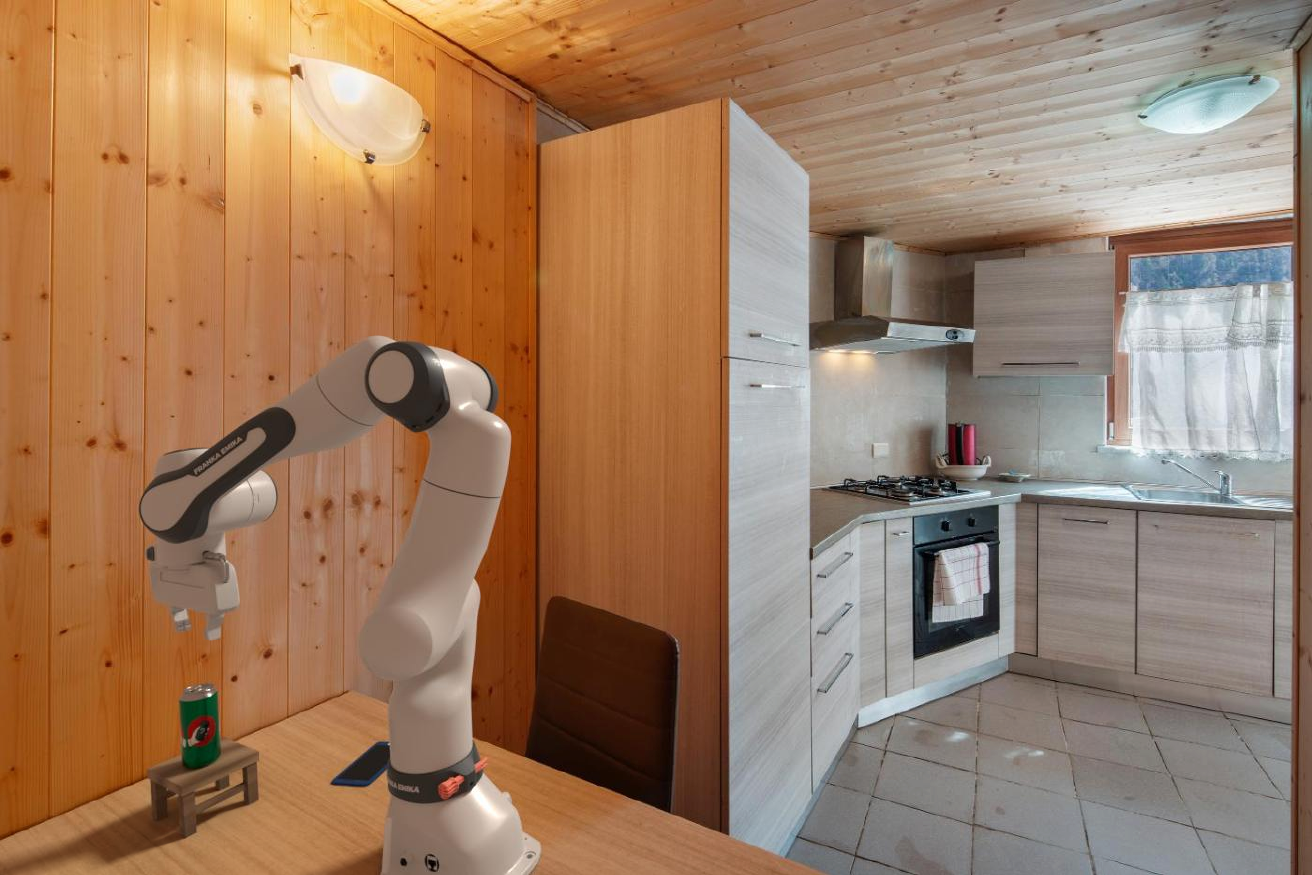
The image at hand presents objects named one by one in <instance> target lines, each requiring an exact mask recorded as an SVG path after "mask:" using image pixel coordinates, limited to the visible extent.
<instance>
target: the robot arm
mask: <svg viewBox="0 0 1312 875" xmlns="http://www.w3.org/2000/svg"><path fill="white" fill-rule="evenodd" d="M499 394H500V392H499V386H498V384H497V382H496V379H495V378H494V376H493V374H491V372H490V371H489V370H487V368H485V366H483V365H481V364H479V362H476V361H474V360H469V359H467V358H464V357H462V356H460V355H458V354H457V353H456V352H453V351H451V350H447V349H444V348H440V347H438V346H433V345H426V344H425V343H423V342H418V341H409V340H404V341H403V340H402V341H396V340H395V339H392V338H390V337H388V336H385V335H384V336H383V335H372V336H367V337H366V338H363V339H361V340H360V341H358V342H356V343H354V344H352V345H351V346H350V347H348V348H347V349H345V350H344V351H342V352H341V353H339V354H338V355H336V356H335V357H334V358H332V359H331V360H329V362H327V363H326V364H325V365H324V366H322V368H320V369H319V370H318V371H317V372H315V373H314V375H313V376H311V377H310V378H309V379H307V381H305V382H304V383H302V384H301V385H300V386H298V388H296V389H295V390H293V391H292V392H290V393H289V394H288V395H286V396H285V397H284V398H282V399H280V400H279V401H278V402H276V403H274V404H272V405H271V406H270V407H268V408H267V409H265V410H262V411H261V412H259V413H258V414H256V415H255V416H253V417H251V418H250V419H248V420H246V421H245V422H243V423H242V424H241V425H239V426H238V427H236V428H235V429H234V430H231V432H229V433H228V434H226V436H224V437H223V438H222V439H220V440H219V441H218V442H216V443H215V444H213V445H212V446H210V447H190V448H189V447H188V448H185V449H177V450H172V451H169V452H167V453H163V455H161V456H160V457H159V458H158V459H157V462H156V464H155V468H154V473H153V474H154V475H153V479H152V480H151V481H150V482H149V484H148V485H147V486H146V488H145V489H144V491H143V493H142V494H141V497H140V501H139V504H138V515H139V517H140V520H141V521H142V524H143V525H144V527H145V528H146V529H147V530H148V531H149V532H150V533H151V534H153V535H154V536H155V541H154V543H152V544H151V545H148V546H147V547H146V548H145V549H144V558H145V560H146V561H148V562H149V565H148V566H149V567H148V568H149V569H148V571H149V580H150V582H149V583H150V588H151V589H150V590H151V594H152V597H153V599H154V601H155V602H156V603H158V604H162V605H166V606H168V612H169V614H170V617H171V620H172V622H173V630H174V631H175V632H177V633H184V632H187V631H190V630H191V629H192V625H191V623H192V622H191V619H190V618H189V615H188V611H187V610H190V611H193V612H199V613H201V614H202V613H203V614H204V619H205V620H206V626H205V627H204V628H203V631H202V632H203V639H204V640H208V641H215V640H217V639H220V638H221V636H222V629H221V628H222V624H223V622H224V619H225V614H227V613H231V612H234V611H237V609H238V607H239V606H240V601H241V600H240V590H239V584H238V583H239V582H238V577H237V572H236V569H235V568H236V567H235V566H234V565H233V564H232V563H231V562H229V560H227V558H226V556H227V545H226V532H230V531H234V530H239V529H244V528H248V527H252V526H256V525H258V524H260V523H263V522H265V521H267V520H268V519H270V518H271V517H272V515H273V514H274V512H275V511H276V508H277V505H278V499H279V496H278V495H279V494H278V488H277V485H276V483H275V481H274V479H273V478H272V477H271V476H270V474H269V473H267V472H266V471H265V470H263V469H265V468H267V467H269V466H271V465H273V464H275V463H278V462H281V461H284V460H288V459H291V458H296V457H301V456H304V455H310V454H311V455H312V454H315V453H321V452H327V451H332V450H336V449H337V450H338V449H340V448H343V447H345V446H347V445H349V444H351V443H353V442H355V441H356V440H358V439H360V438H361V437H363V436H364V435H366V434H367V433H368V432H370V431H371V430H372V429H373V428H375V427H376V426H377V425H378V424H379V423H380V422H382V421H383V420H384V418H386V416H388V417H390V418H392V419H394V420H396V421H397V422H398V423H400V424H401V425H402V426H404V427H405V428H407V429H408V430H409V431H410V432H412V433H416V434H417V433H421V432H425V434H426V435H427V437H428V440H429V444H430V447H429V453H428V454H429V455H428V458H427V462H426V465H425V468H424V473H423V474H422V476H423V477H422V479H421V483H420V485H419V490H418V494H417V498H416V500H415V503H414V507H413V511H412V515H411V518H410V522H409V525H408V528H407V531H406V534H405V536H404V538H403V541H402V543H401V546H400V548H399V550H398V552H397V554H396V556H395V559H394V560H393V562H392V565H391V567H390V569H389V571H388V574H387V576H386V578H385V580H384V583H383V585H382V588H381V589H380V591H379V595H378V597H377V599H376V601H375V603H374V605H373V608H372V610H371V611H370V613H369V614H368V616H367V618H366V620H365V621H364V623H363V625H362V626H361V628H360V631H359V633H358V640H357V648H358V649H357V650H358V654H359V657H360V660H361V661H362V663H363V665H364V666H365V668H366V669H367V670H368V671H369V672H370V673H372V674H373V675H374V676H376V677H377V678H380V679H381V680H382V679H383V680H385V681H390V682H394V685H393V688H392V692H391V694H390V697H389V701H388V709H387V711H388V712H387V713H388V734H389V735H388V736H389V738H388V739H389V740H388V742H390V757H389V759H388V763H387V770H386V780H387V790H388V792H389V793H390V797H389V798H390V799H389V802H388V809H387V812H386V816H385V821H384V830H383V843H382V844H383V845H382V859H381V871H380V874H379V875H530V874H531V873H532V871H533V870H534V869H535V867H536V866H537V864H538V862H539V859H540V857H541V854H542V847H541V842H540V841H539V840H537V839H535V838H534V837H532V836H530V834H528V833H526V832H525V831H523V826H522V821H521V818H520V813H519V812H518V809H517V808H516V807H515V806H514V805H513V799H512V797H511V794H510V793H509V792H508V791H502V792H501V790H500V789H498V787H497V786H496V785H495V784H494V783H493V782H492V781H491V780H490V779H489V777H488V776H487V775H486V774H485V773H484V768H485V767H487V766H488V765H489V763H488V762H486V761H487V760H488V759H489V758H488V757H487V756H486V757H484V758H482V759H481V757H480V753H479V749H478V748H477V746H476V742H475V741H474V739H473V720H472V719H473V718H472V716H473V715H472V714H473V713H472V683H473V679H472V678H473V670H474V662H475V653H476V641H477V628H478V627H477V626H478V625H477V624H478V614H479V609H480V604H481V590H480V587H479V584H478V582H477V581H476V579H475V576H476V574H477V572H478V569H479V567H480V564H481V563H482V560H483V558H484V556H485V554H486V552H487V550H488V547H489V544H490V540H491V537H492V532H493V530H494V526H495V523H496V518H497V514H498V511H499V508H500V504H501V501H502V496H503V492H504V489H505V485H506V480H507V475H508V470H509V462H510V456H511V446H512V445H511V444H512V434H511V430H510V427H509V426H508V424H507V423H506V422H505V420H503V419H502V418H501V417H500V416H498V415H496V414H495V413H494V412H495V410H496V408H497V406H498V402H499ZM485 762H486V763H485Z"/></svg>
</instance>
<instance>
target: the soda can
mask: <svg viewBox="0 0 1312 875" xmlns="http://www.w3.org/2000/svg"><path fill="white" fill-rule="evenodd" d="M180 693H181V695H180V697H179V698H178V711H179V714H178V715H179V731H180V733H179V734H180V752H181V754H182V766H183V767H185V768H187V769H199V768H203V767H206V766H208V765H210V764H212V763H214V762H215V761H216V760H217V759H218V758H219V757H220V755H221V742H220V738H221V726H220V722H221V721H220V707H219V706H220V704H219V703H220V702H219V690H218V689H217V688H216V684H214V683H213V682H208V683H207V682H203V683H199V684H198V683H197V684H194V685H191V686H188V687H186V688H184V689H182V691H181V692H180ZM181 754H180V755H181Z"/></svg>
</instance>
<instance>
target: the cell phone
mask: <svg viewBox="0 0 1312 875" xmlns="http://www.w3.org/2000/svg"><path fill="white" fill-rule="evenodd" d="M389 757H390V741H385V740H383V741H377V742H375V743H374V744H372V746H370V747H369V748H368V749H367V750H365V751H364V752H363V753H362V754H361V755H360V756H359V757H358V758H356V759H355V760H354V761H352V762H351V764H349V765H348V766H347V767H346V768H344V769H343V770H341V772H339V774H337V776H335V777H334V778H333V779H332V780H331V782H330V784H331V785H333V786H342V787H358V788H359V787H360V788H367V787H369V786H370V785H372V784H373V783H374V782H376V781H377V779H379V777H380V776H382V775H383V774H384V773H385V772H387V763H388V759H389Z"/></svg>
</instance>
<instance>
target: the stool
mask: <svg viewBox="0 0 1312 875" xmlns="http://www.w3.org/2000/svg"><path fill="white" fill-rule="evenodd" d="M220 742H221V755H220V757H219V758H218V759H217V760H216V761H215V762H214V763H212V764H210V765H208V766H206V767H203V768H199V769H187V768H185V767H183V766H182V754H180V755H176V756H175V757H172V758H169V759H167V760H164V761H162V762H160V763H158V764H156V765H153V766H150V767H148V768H147V769H146V773H147V774H146V775H147V776H146V777H147V779H148V780H149V781H150V797H151V816H152V819H153V820H155V821H156V822H157V821H160V820H162V819H163V818H166V817H168V816H169V809H168V808H169V807H168V806H169V805H168V799H170V798H172V797H175V796H177V795H178V797H177V798H178V813H179V815H178V816H179V817H178V818H179V832H180V836H181V837H183V838H184V839H185V838H188V837H189V836H190V837H191V836H192V835H193V834H195V833H197V831H198V830H197V828H198V827H197V815H198V814H200V813H202V812H204V811H206V810H208V809H210V808H211V807H214V806H216V805H218V804H220V803H222V802H224V801H226V800H228V799H230V798H232V797H234V796H236V795H238V794H240V793H242V792H243V803H245V804H247V805H251V804H253V803H254V802H256V801H258V800H259V797H260V796H259V781H258V780H259V779H258V778H259V777H258V762H259V761H260V754H259V753H260V752H259V750H256V749H253V748H252V747H249V746H246V745H244V744H242V743H239V742H238V741H234V740H232V739H231V738H227V737H224V736H222V737H220ZM240 770H242V771H241V772H242V782H239V784H237V785H235V786H232V787H230V775H231V774H233V773H235V772H238V771H240ZM212 783H214V785H215V786H214V787H215V789H217V790H219V791H222V790H223V789H226V788H227V787H230V788H228V789H226V790H224V791H222V792H220V793H218V794H216V795H213V796H212V797H210V798H208V799H205V800H203V801H201V802H200V803H198V804H196V794H195V792H196V791H197V790H199V789H202V788H203V787H206V786H208V785H210V784H212Z"/></svg>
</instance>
